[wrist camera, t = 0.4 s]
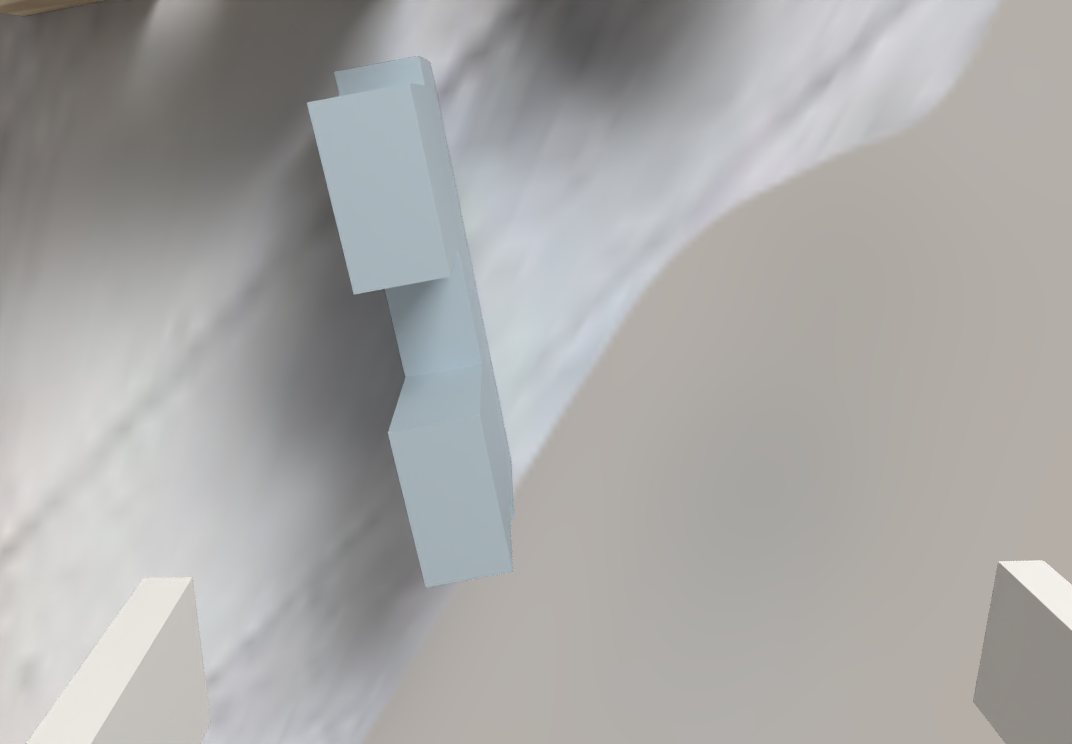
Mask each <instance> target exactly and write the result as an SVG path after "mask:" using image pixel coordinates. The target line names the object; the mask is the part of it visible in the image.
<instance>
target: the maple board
mask: <svg viewBox="0 0 1072 744" xmlns="http://www.w3.org/2000/svg"><path fill="white" fill-rule="evenodd" d="M100 1H106V0H0V12H1V13H7V14H13V15H19V16H26V15H32V14H37V13H42V12H47V11H53V10H58V9H63V8H69V7H74V6H79V5H84V4H90V3H95V2H100Z"/></svg>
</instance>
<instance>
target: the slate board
mask: <svg viewBox="0 0 1072 744" xmlns="http://www.w3.org/2000/svg"><path fill="white" fill-rule="evenodd" d="M334 75H335V79H336V83H337V88H338V92H339V96H338V97H333V98H328V99H322V100H317V101H312V102H307V106H308V110H309V114H310V118H311V122H312V126H313V130H314V134H315V138H316V142H317V146H318V151H319V155H320V159H321V163H322V167H323V171H324V175H325V179H326V183H327V187H328V191H329V195H330V200H331V204H332V208H333V212H334V216H335V220H336V224H337V228H338V232H339V236H340V240H341V244H342V249H343V253H344V257H345V261H346V265H347V269H348V273H349V277H350V281H351V285H352V289H353V293H354V294H360V293H365V292H370V291H376V290H381V289H385V293H386V297H387V301H388V306H389V310H390V314H391V318H392V323H393V327H394V331H395V335H396V340H397V344H398V348H399V353H400V357H401V361H402V365H403V370H404V374H405V380H404V383H403V386H402V389H401V393H400V396H399V399H398V402H397V405H396V409H395V412H394V415H393V418H392V421H391V424H390V428H389V431H388V436H389V440H390V444H391V448H392V453H393V457H394V461H395V465H396V469H397V473H398V477H399V481H400V485H401V489H402V493H403V497H404V502H405V506H406V510H407V514H408V518H409V522H410V526H411V530H412V534H413V538H414V542H415V546H416V551H417V555H418V559H419V563H420V567H421V571H422V575H423V579H424V583H425V587H426V588H427V587H433V586H438V585H444V584H449V583H455V582H460V581H466V580H471V579H476V578H482V577H488V576H493V575H498V574H504V573H509V572H512V571H513V567H512V543H511V519H514V507H513V506H514V505H513V484H512V464H511V457H510V452H509V447H508V442H507V437H506V432H505V427H504V423H503V418H502V413H501V408H500V403H499V398H498V393H497V388H496V383H495V378H494V373H493V368H492V363H491V358H490V353H489V349H488V344H487V339H486V334H485V329H484V324H483V319H482V314H481V309H480V304H479V299H478V294H477V289H476V284H475V280H474V275H473V270H472V265H471V260H470V255H469V250H468V245H467V240H466V235H465V230H464V225H463V220H462V215H461V210H460V206H459V201H458V196H457V191H456V186H455V181H454V176H453V171H452V166H451V161H450V156H449V151H448V146H447V141H446V136H445V132H444V127H443V122H442V117H441V112H440V107H439V102H438V97H437V92H436V87H435V82H434V77H433V72H432V67H431V63H430V62H429V61H428V60H426V59H424V58H422V57H420V56H414V57H409V58H404V59H398V60H393V61H388V62H382V63H377V64H372V65H367V66H361V67H356V68H351V69H345V70H340V71H335V72H334Z"/></svg>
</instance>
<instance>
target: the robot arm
mask: <svg viewBox="0 0 1072 744" xmlns="http://www.w3.org/2000/svg"><path fill="white" fill-rule="evenodd" d="M973 702H974V703H975V705H976V706H977V707H978V708H979V710H980V711H981V712H982V714H983V715H984V716H985V718H986V719H987V720H988V721H989V723H990V724H991V725H992V727H993V728H994V729H995V731H996V732H997V733H998V734H999V736H1000V737H1001V738H1002V739H1003V741H1004V742H1005V743H1006V744H1072V585H1071V584H1070V583H1069V582H1067V581H1066V580H1065V579H1064V578H1063V577H1062V576H1060V575H1059V574H1058V573H1057V572H1056V571H1055V570H1054V569H1052V568H1051V567H1050V566H1049V565H1048V564H1046V563H1045V562H1044V561H998V565H997V571H996V576H995V582H994V588H993V594H992V598H991V604H990V610H989V615H988V621H987V626H986V632H985V637H984V643H983V649H982V654H981V659H980V666H979V671H978V676H977V682H976V687H975V693H974V698H973ZM210 723H211V720H210V712H209V704H208V696H207V688H206V680H205V672H204V664H203V656H202V648H201V640H200V632H199V624H198V616H197V608H196V600H195V592H194V584H193V577H168V578H143V579H142V581H141V582H140V584H139V585H138V586H137V588H136V589H135V591H134V592H133V594H132V595H131V596H130V598H129V599H128V601H127V602H126V603H125V605H124V606H123V608H122V609H121V610H120V612H119V613H118V615H117V616H116V617H115V619H114V620H113V622H112V623H111V625H110V626H109V627H108V629H107V630H106V632H105V633H104V634H103V636H102V637H101V639H100V640H99V641H98V643H97V644H96V646H95V647H94V649H93V650H92V651H91V653H90V654H89V656H88V657H87V658H86V660H85V661H84V663H83V664H82V665H81V667H80V668H79V670H78V671H77V672H76V674H75V675H74V677H73V678H72V680H71V681H70V682H69V684H68V685H67V687H66V688H65V689H64V691H63V692H62V694H61V695H60V696H59V698H58V699H57V701H56V702H55V704H54V705H53V706H52V708H51V709H50V711H49V712H48V713H47V715H46V716H45V718H44V719H43V720H42V722H41V723H40V725H39V726H38V727H37V729H36V730H35V732H34V733H33V735H32V736H31V737H30V739H29V740H28V742H27V743H26V744H201V743H202V741H203V738H204V736H205V734H206V732H207V729H208V727H209V725H210Z"/></svg>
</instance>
